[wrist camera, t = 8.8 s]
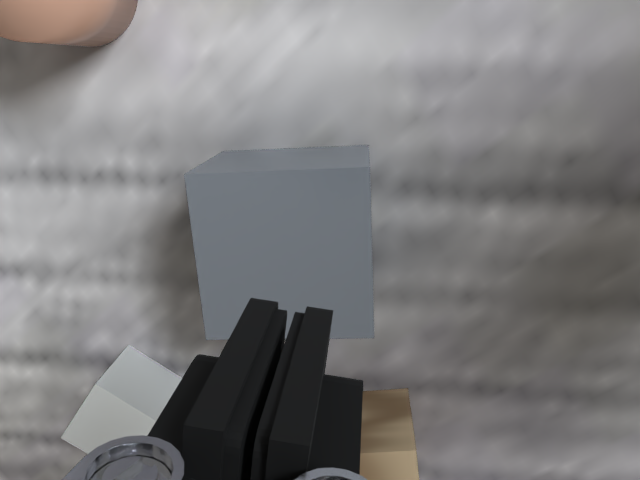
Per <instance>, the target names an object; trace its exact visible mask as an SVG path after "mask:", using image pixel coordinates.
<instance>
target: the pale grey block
mask: <svg viewBox="0 0 640 480" xmlns="http://www.w3.org/2000/svg"><path fill="white" fill-rule="evenodd" d="M181 380H182V378H181V377H180V376H178V375H177V374H175V373H173V372H172V371H170V370H169V369H167V368H165V367H164V366H162V365H161V364H159V363H157V362H156V361H154V360H153V359H151V358H149V357H148V356H146V355H145V354H143V353H141V352H140V351H138V350H137V349H135V348H134V347H132V346H130V345H128V346H127V347H126V348H125V350H124V351H123V352H122V353H121V354H120V355H119V357H118V358H117V359H116V360H115V361H114V363H113V364H112V365H111V366H110V367H109V368H108V370H107V371H106V372H105V373H104V374H103V375H102V377H101V378H100V379H99V380H98V381H97V383H96V384H95V385H94V387H93V388H92V390H91V391H90V393H89V395H88V396H87V398H86V399H85V401H84V402H83V404H82V405H81V407H80V409H79V410H78V412H77V413H76V415H75V416H74V418H73V419H72V421H71V423H70V424H69V426H68V427H67V429H66V430H65V432H64V433H63V435H62V436H61V439H63V440H65V441H66V442H68V443H70V444H71V445H73V446H75V447H76V448H78V449H80V450H82V451H83V452H85V453H87V454H89V453H90V452H91V451H92V450H94V449H95V448H96V447H98V446H100V445H102V444H105V443H107V442H109V441H111V440H114V439H118V438H122V437H126V436H141V435H144V436H147V435H148V434H149V432H150V430H151V429H152V427H153V426H154V424H155V422H156V421H157V419H158V417H159V416H160V414H161V412H162V411H163V409H164V407H165V406H166V404H167V403H168V401H169V399H170V398H171V396H172V394H173V393H174V391H175V389H176V388H177V386H178V384H179V383H180V381H181Z"/></svg>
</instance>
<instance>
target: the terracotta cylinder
mask: <svg viewBox="0 0 640 480" xmlns="http://www.w3.org/2000/svg"><path fill="white" fill-rule="evenodd" d="M137 3H138V0H0V36H1V37H3V38H6V39H9V40H13V41H18V42H32V43H45V44H59V45H72V46H86V47H95V46H101V45H105V44H108V43H110V42H112V41H114V40H116V39H117V38H118V37H119V36H121V35H122V34H123V33H124V32H125V31H126V29H127V28H128V27H129V25H130V24H131V21H132V19H133V17H134V15H135V12H136V8H137Z"/></svg>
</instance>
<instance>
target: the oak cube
mask: <svg viewBox="0 0 640 480" xmlns="http://www.w3.org/2000/svg"><path fill="white" fill-rule="evenodd" d="M360 475H361V476H363V477H364V478H366V479H367V480H419V475H418V464H417V453H416V445H415V438H414V430H413V423H412V415H411V408H410V400H409V393H408V388H405V389H390V390H376V391H363V401H362V426H361V451H360Z"/></svg>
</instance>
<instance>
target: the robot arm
mask: <svg viewBox="0 0 640 480" xmlns="http://www.w3.org/2000/svg"><path fill="white" fill-rule="evenodd" d="M332 317H333V310H328V309H321V308H315V307H308V306H307V307H306V310H305V313H300V312H295V313H294V317H293V320H292V323H291V326H290V329H289V332H288V335H287V338H286V341H285V344H284V340H285V331H286V322H287V310H281V309H278V302H276V301H269V300H263V299H256V298H250V300H249V302H248V304H247V305H246V307H245V309H244V311H243V313H242V315H241V317H240V319H239V321H238V323H237V324H236V326H235V328H234V330H233V332H232V334H231V336H230V338H229V340H228V341H227V343H226V345H225V347H224V349H223V351H222V353H221V355H220V357H212V356H206V355H197V356H196V357H195V359H194V360H193V362H192V363H191V365H190V366H189V368H188V370H187V371H186V373H185V375H184V376H183V378H182V380H181V381H180V383H179V384H178V386H177V388H176V389H175V391H174V393H173V394H172V396H171V398H170V399H169V401H168V403H167V404H166V406H165V407H164V409H163V411H162V412H161V414H160V416H159V417H158V419H157V421H156V422H155V424H154V426H153V427H152V429H151V430H150V432H149V434H148V435H147V436H144V435H141V436H126V437H122V438H118V439H114V440H111V441H109V442H107V443H105V444H102V445H100V446H98V447H96V448H95V449H94V450H92V451H91V452H90V453H89V454H87V455H86V456H85V457H84V458H83V459H82V460H81V461H80V462H79V463H78V464H77V465H76V466H75V467H74V468H73V469H72V470H71V471H70V472H69V473H68V474H67V475H66V476H65V477H64V478H63V479H62V480H367V479H366V478H364V477H363V476H361V475H360V451H361V426H362V401H363V381H362V380H356V379H350V378H344V377H337V376H331V375H325V367H326V360H327V352H328V345H329V338H330V331H331V324H332Z"/></svg>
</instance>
